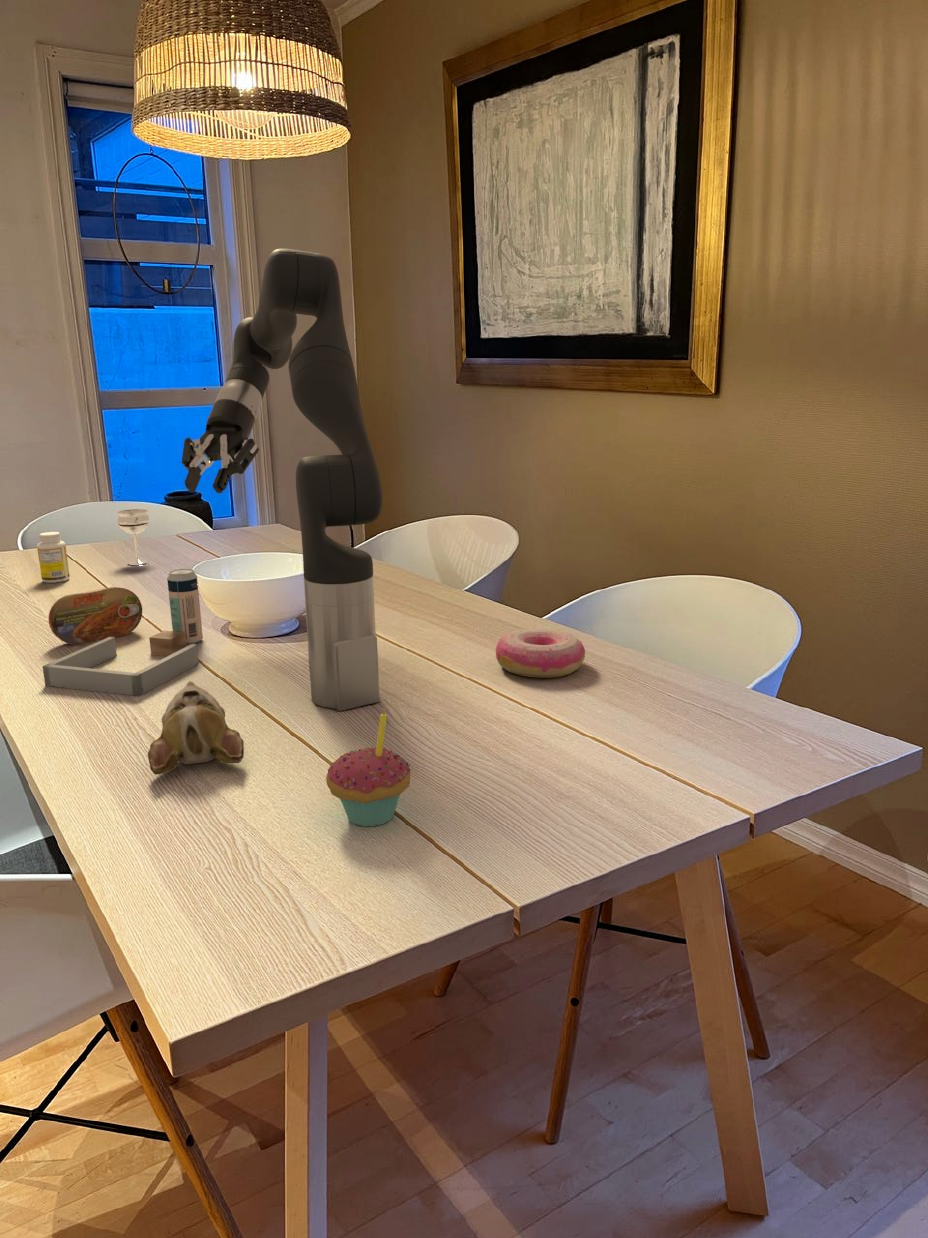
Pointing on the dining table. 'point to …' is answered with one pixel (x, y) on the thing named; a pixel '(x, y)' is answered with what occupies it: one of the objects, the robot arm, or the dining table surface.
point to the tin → (95, 615)
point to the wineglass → (134, 525)
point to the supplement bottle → (53, 558)
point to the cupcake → (369, 781)
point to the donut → (540, 653)
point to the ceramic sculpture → (194, 733)
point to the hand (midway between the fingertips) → (203, 489)
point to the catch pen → (80, 675)
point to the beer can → (185, 604)
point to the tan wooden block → (167, 642)
